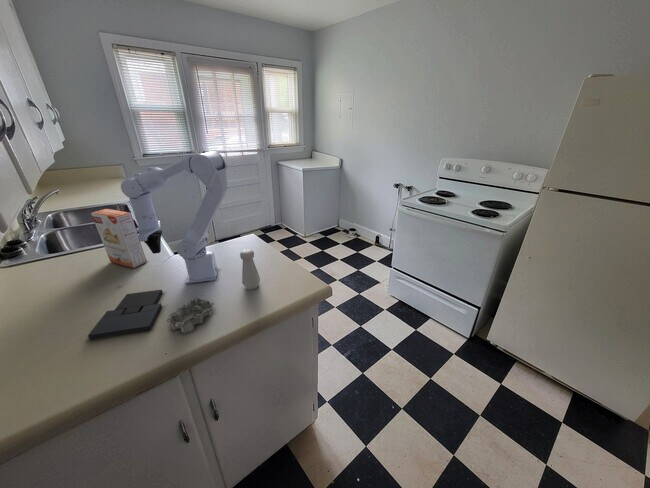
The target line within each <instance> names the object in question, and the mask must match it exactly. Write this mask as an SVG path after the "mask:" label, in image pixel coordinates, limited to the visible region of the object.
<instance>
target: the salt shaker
mask: <svg viewBox="0 0 650 488" xmlns="http://www.w3.org/2000/svg"><path fill="white" fill-rule="evenodd" d="M239 258H240V259H241V260H242V270H241V271H242V272H241V273H242V274H241V283H242V285H243V287H245V289H247V290H250V291H251V290H255V289H257V288H258V287H259V285H260V282H261V276H260V274H259V271H258V269H257V266H256V264H255V260H254V258H255V251H253V250H252V249H249V248H247V249H243V250H241V251H240V253H239Z"/></svg>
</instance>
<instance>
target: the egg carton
mask: <svg viewBox="0 0 650 488" xmlns="http://www.w3.org/2000/svg"><path fill="white" fill-rule="evenodd" d="M213 305H215V304H214V302H210V300H206V299H203V298H201V297H199V296H196V295H195V296H194V297H193V298H192V299H190V301H188V302H186V303H185V304H183V305H182V306H180V307H179V308H177V309H176V310H175V311H173V312H170V313H169V314H168V316H167V318H166V321H167V322H169V323H170V326H171V329H172V330H174V331H176V330H177V329H180V330H181V333H183V334H185V333H187V332H192V331H193V330H195V325H198V324H202V323H203V322H204V318H205V317H210V316H212V315H213Z"/></svg>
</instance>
